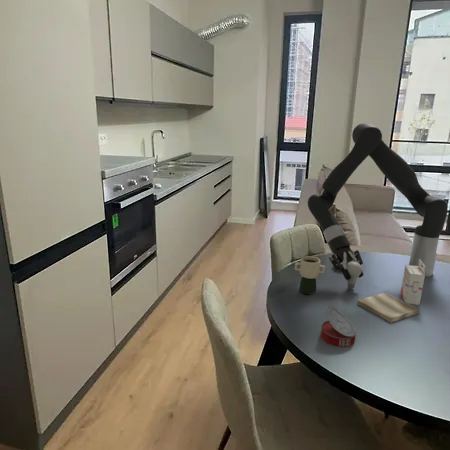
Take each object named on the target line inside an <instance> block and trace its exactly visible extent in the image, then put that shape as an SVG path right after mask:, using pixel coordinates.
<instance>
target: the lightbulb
mask: <svg viewBox="0 0 450 450" xmlns="http://www.w3.org/2000/svg"><path fill="white" fill-rule="evenodd" d="M346 269H348V272H349V274H350V276H351V279H350V280H346V281H347V288H348V289H350V290H353V289H354V288H355V285H356V283H357V280H358V278H359V276H360V274H361V272H363V269H362V265H361V266H360V264H358V263H357V262H349V263H348V264H347V265H346Z"/></svg>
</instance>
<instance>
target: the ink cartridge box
mask: <svg viewBox="0 0 450 450" xmlns="http://www.w3.org/2000/svg"><path fill="white" fill-rule="evenodd" d="M421 265H422V266H423V268H422V266H421ZM425 268H426V267H425V265H424V264H423V262H422V261H421V260H420V259H419V266H411V265H409V264H405V265H404V271H403V278H402V282H401V287H400V288H401V289H400V295H401V297H402V299H403V302H405V303H408V304H410V305H418V306H419V305H421V298H422V294H423V286H424V283H425V278H426V277H425Z"/></svg>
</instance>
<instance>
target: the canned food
mask: <svg viewBox="0 0 450 450" xmlns="http://www.w3.org/2000/svg"><path fill="white" fill-rule="evenodd" d="M326 313H327V314H326V315H327V316H326V317H327V319H328V320H326V321H325V322H323V323H322V324H321V331H320V338H321V339H322V340H323V341H324V342H325V343H327V344H328V345H330V346H332V347H333V346H334V347H338V348H349V347H351V346H353V345H354V344H355V342H356V337H357V336H356V334H357V330H356V327H355V326H354V325H353V323H352V322H351V321H350V319H348V318H347V317H346V316H345V315H344V314H343V313H342V312H341V311H339V310H338V309H337V308H336V307H334V306H329V307H328V309H327V312H326Z"/></svg>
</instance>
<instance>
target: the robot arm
mask: <svg viewBox="0 0 450 450" xmlns="http://www.w3.org/2000/svg"><path fill="white" fill-rule="evenodd" d="M351 136H352V141H353V143H354V145H353V146H352V149H351V150H350V152H349V153H348V154H347V155H346V157H344V159H343V160H342V161H341V162H339V163H338V164H337V165H336V166H335V167H334V168H333V169H332V170H331V172H330V173H329V174H328V176H327V177H326V179H325V180H324V182H323V183H322V185H321V186H322V189H323V191H322V193H321V194H312V195H310V196H309V197H308V200H307V207H308V210H309V211H310V214H312V216H313V218H314V219H315V220H316V221H317V223H318V224H319V227H320V229H321V230H322V233H323V235H324V239H325V240H326V244H327V245H328V246H329V249H330V251H331V253H332V255H329V257H328V259H329V261H330V263H331V264H332V266H333V268H334V269H335V270H336V271H337V272H339V271H340V272H341V273H342V275H343V277H344V279H345V281H347V280H350V279H351V276H350V274H349V272H348V269H346V263H349V262H357V263H358V264H360V266H361V267H362V265H364V262H363V259H362V257H361V254H360V251H359V250H358V249H356V250H355V251H354V250H352V249H351V244H350V242H349V239H348V237H347V236H346V234H345V231H344V229H343V228H342V226H341V225H340V223H339V221H338V219H337V217H336V215H335V214H334V213H332V212H331V211H330V210H331V208H332V207H333V205H334V203H335V201H336V199H337V196H338V194H339V192H340V191H341V189H342V188H343V187H344V186H345V184H346V182H347V181H348V180H349V178H350V177H351V176H352V175H353V174H354V172H355V171H356V170H357V168H358V167H359V166H360V165H362V163H364V161H365V160H366V159H367V158H368V157H370V158H371V159H372V161H373V162H374V163H375V165H376V166H377V167H378V169H379V170H380V171H381V173H382V175H384V177H385V178H386V179H387V180H388V181H389V182H390V183H391V184H392V186H393V187H395V188H396V189H397V191H398V192H399V193H401V194H402V195H403V197H405V198H406V200H407V201H408V202H409V203H410V205H411V206H412V208H413V209H414V211H415V212H416V214H418V215H419V216H420V217H422V218H423V221H422V224H421V225H417V226H416V227H415V230H414V234H413V239H412V247H411V252H410V257H409V261H408V262H409V263H408V265H411V266H419V259H420V260H421V261H422V262H423V264H424V265H425V267H426V268H425V278H427V277H429V278H430V277H431V276H432V275H433V274H434V271H435V270H434V269H435V264H436V259H437V255H438V254H437V250H438V244H439V240H440V239H439V238H440V235H441V232H442V231H443V230H444V227H445V222H446V220H447V215H448V210H449V209H448V204H447V201H445V200H443V198H442V199H441V198H439V197H436V196H433V195H431V194H429V192H427V191H426V190H425V189H424V188H423V187H422V186H421V184H420V183H419V181H418V176H417V173H416V172H415V170H414V169H413V167H411V166H410V164H408V162H407V161H406V160H405V159H404V158H403V157H401V155H399V154H398V153H397V152H396V151H394V150H393V149H392V148H390V147H389V146H388V145H387V144H386V143H385V142H384V140H383V133H382V131H381V130H380V128H379V127H377V126H375V125H373V124H371V123H368V122H367V123H366V122H365V123H359V124H357V125H356V126H355V127H354V129H353V130H352V134H351ZM352 259H353V261H352ZM421 266H422V265H421ZM422 268H423V266H422ZM362 277H364V271H362V272H361V274H360V276H359V277H358V278H362Z"/></svg>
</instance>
